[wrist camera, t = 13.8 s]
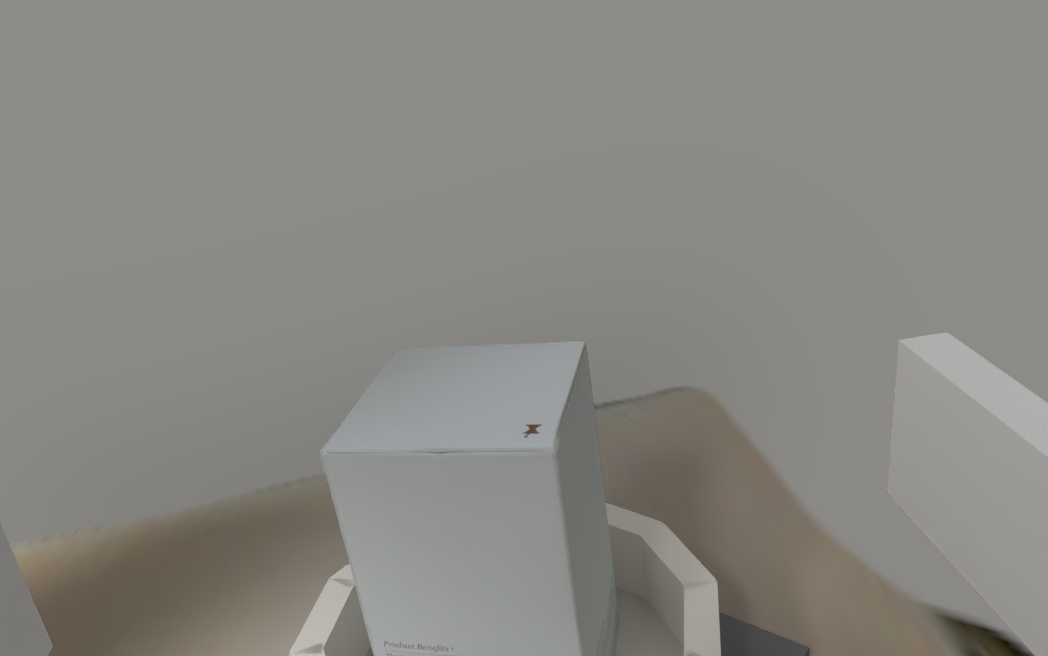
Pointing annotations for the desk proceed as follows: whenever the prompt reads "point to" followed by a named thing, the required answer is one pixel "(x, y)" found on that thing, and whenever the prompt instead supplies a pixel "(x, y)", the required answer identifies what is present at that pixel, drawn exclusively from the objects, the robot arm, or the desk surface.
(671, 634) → the bowl
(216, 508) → the desk surface
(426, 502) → the supplement box
